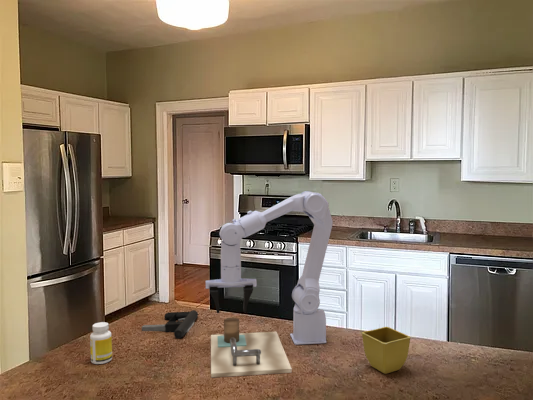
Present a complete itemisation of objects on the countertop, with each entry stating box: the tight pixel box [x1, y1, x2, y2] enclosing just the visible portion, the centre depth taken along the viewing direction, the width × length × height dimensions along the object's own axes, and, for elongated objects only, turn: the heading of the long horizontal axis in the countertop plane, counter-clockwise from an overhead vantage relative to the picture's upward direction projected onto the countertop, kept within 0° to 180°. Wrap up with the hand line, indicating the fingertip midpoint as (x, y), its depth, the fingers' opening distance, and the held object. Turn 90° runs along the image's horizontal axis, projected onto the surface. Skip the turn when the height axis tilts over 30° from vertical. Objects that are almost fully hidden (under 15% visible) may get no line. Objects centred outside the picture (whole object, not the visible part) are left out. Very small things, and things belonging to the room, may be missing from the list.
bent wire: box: [230, 337, 261, 366], centre depth 120 cm, size 8×11×4 cm
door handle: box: [141, 309, 200, 339], centre depth 147 cm, size 3×20×16 cm
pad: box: [218, 335, 247, 348], centre depth 131 cm, size 8×8×1 cm
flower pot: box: [361, 326, 412, 375], centre depth 115 cm, size 9×9×9 cm
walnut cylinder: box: [223, 317, 240, 343], centre depth 131 cm, size 4×4×6 cm
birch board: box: [210, 331, 293, 378], centre depth 125 cm, size 20×26×1 cm
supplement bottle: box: [89, 321, 113, 365], centre depth 121 cm, size 5×5×10 cm
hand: (231, 311), depth 131 cm, fingers open, 7 cm apart
